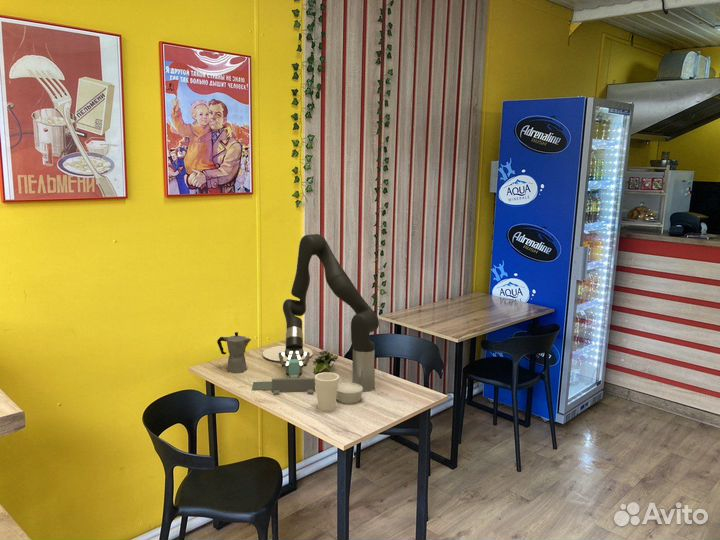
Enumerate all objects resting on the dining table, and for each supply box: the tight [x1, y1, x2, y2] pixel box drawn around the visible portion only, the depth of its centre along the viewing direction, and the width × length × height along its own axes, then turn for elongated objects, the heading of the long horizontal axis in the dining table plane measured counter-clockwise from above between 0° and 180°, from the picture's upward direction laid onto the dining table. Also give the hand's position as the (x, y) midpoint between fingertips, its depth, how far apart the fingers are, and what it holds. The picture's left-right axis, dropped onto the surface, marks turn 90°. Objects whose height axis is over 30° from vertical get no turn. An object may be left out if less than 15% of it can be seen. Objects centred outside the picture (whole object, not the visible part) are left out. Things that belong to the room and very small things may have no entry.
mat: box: [251, 381, 272, 392], centre depth 239 cm, size 9×9×1 cm
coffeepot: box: [216, 331, 252, 374], centre depth 257 cm, size 15×9×18 cm, turn 91°
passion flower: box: [312, 350, 339, 374], centre depth 259 cm, size 11×11×12 cm
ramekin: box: [336, 382, 363, 405], centre depth 228 cm, size 11×11×5 cm
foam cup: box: [314, 371, 340, 413], centre depth 218 cm, size 10×9×13 cm
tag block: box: [288, 359, 300, 378], centre depth 240 cm, size 4×5×10 cm
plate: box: [262, 344, 314, 363], centre depth 281 cm, size 25×25×2 cm
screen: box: [271, 377, 316, 396], centre depth 233 cm, size 18×4×6 cm, turn 96°
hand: (294, 374), depth 238 cm, fingers closed on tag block, 4 cm apart
